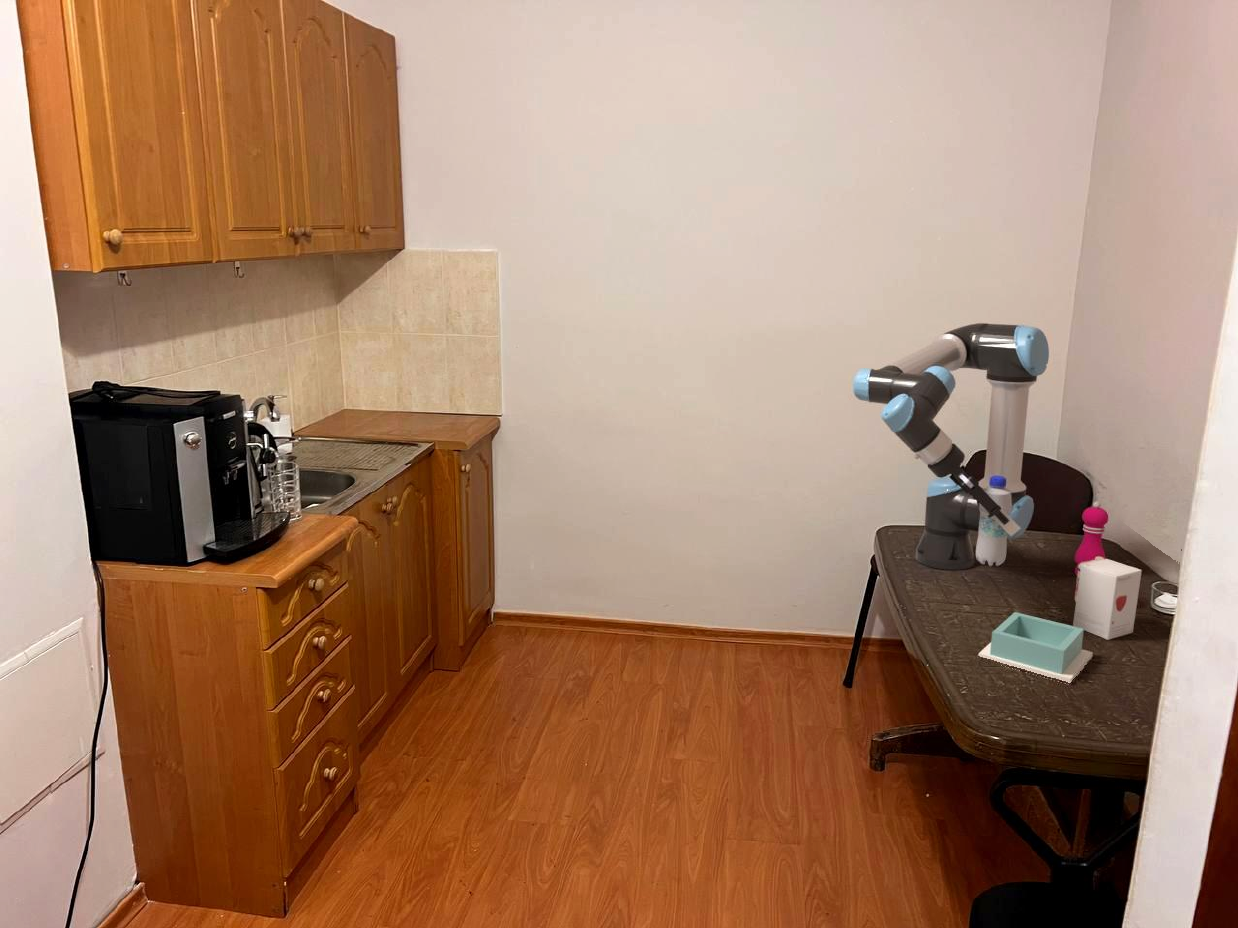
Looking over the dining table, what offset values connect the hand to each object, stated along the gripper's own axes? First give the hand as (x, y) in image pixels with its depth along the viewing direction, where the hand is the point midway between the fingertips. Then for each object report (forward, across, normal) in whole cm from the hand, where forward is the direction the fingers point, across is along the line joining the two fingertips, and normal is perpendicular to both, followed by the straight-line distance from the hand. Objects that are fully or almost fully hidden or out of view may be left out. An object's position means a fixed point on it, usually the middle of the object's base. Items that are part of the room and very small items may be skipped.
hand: (1010, 526), depth 204 cm
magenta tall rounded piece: (+40, -36, +6) cm, 54 cm away
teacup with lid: (+36, -15, +2) cm, 39 cm away
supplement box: (+33, 0, -1) cm, 33 cm away
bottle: (+4, 0, -9) cm, 9 cm away
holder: (+18, +16, -15) cm, 29 cm away
